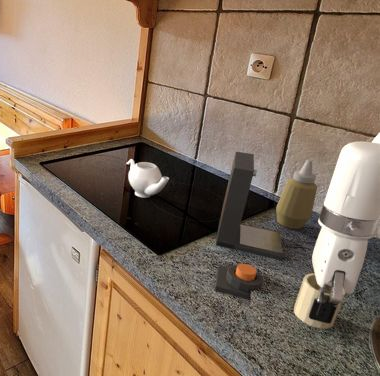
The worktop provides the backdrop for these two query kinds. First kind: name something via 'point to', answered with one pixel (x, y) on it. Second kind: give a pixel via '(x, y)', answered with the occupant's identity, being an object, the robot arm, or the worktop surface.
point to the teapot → (146, 179)
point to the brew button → (246, 272)
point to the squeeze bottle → (297, 198)
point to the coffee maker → (233, 211)
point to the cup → (307, 298)
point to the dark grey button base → (236, 282)
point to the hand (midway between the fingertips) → (316, 306)
